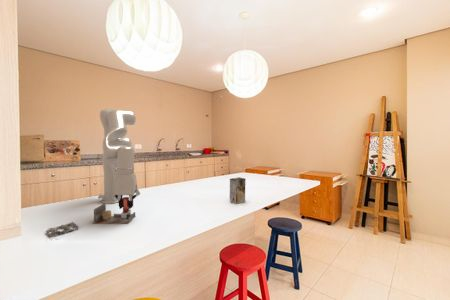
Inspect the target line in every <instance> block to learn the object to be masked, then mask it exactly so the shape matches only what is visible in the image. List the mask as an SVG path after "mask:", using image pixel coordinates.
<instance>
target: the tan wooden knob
mask: <svg viewBox="0 0 450 300" xmlns="http://www.w3.org/2000/svg"><path fill="white" fill-rule="evenodd" d="M111 216H112V211H111V210H109V209H106V211H103V212H102V221H107V219H111Z"/></svg>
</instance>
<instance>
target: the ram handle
mask: <svg viewBox="0 0 450 300" xmlns="http://www.w3.org/2000/svg"><path fill="white" fill-rule="evenodd" d="M122 198H123V207H122V212H121V213H120V214H121V219H128V217H129V216H131V214H132V210H131V209H129V201H130V199H129V196H125V197H124V196H123V197H122Z"/></svg>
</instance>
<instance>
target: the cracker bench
mask: <svg viewBox="0 0 450 300" xmlns="http://www.w3.org/2000/svg"><path fill="white" fill-rule="evenodd" d="M106 207H107V206H106V204H105V203H102V204H101V205H99V206H97V207H96V208H94V209H93V222H92V223H91V224H92V225H129V224H130V223H131V222H132V221H133V220H134V219H135V218H136V217H137V215H136V212H135V211H134V212H133V213H131V216H129V217H128V219H121V213H114V214H113V215H111V219H107V221H102V212H103V211H107V208H106Z"/></svg>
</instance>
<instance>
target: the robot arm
mask: <svg viewBox="0 0 450 300" xmlns="http://www.w3.org/2000/svg"><path fill="white" fill-rule="evenodd" d="M99 118H100V119H99V120H100V122H101V124H102V128H103V132H104V133H103V134H104V135H103V136H104V137H103V140H102V152H103V155H102V157H101V162H102V168H103V194H98V199H101V203H102V204H107V205H108V204H109V205H110V204H112V205H113V204H117V203H118V207H119V208H118V209H120V210H121V209H123V197H124V196H128V197H129V210H131V209H132V208H133V207H134V199H136V198H137V197H139V196H140V195H141V191H139V189H138V180H137V175H136V173H135V149H134V146H132V145H133V144H132V140H131V138H130V137H128V136H126V135H127V134H128V127H127V125H128V126H133V125H135V124H136V114H135V113H134V111H133V110H128V109H127V110H126V109H112V108H105V109H101V110H100V112H99Z"/></svg>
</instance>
